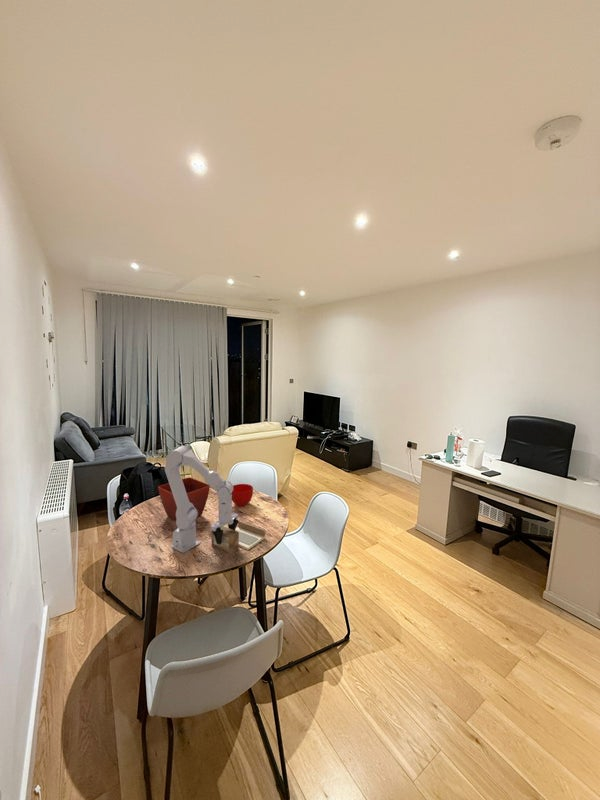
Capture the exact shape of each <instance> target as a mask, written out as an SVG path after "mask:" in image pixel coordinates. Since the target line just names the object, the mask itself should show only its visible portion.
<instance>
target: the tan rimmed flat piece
mask: <svg viewBox="0 0 600 800" xmlns="http://www.w3.org/2000/svg"><path fill="white" fill-rule="evenodd" d="M238 521H239V523H238V524H237V527H236V529H235V531H237V532H239V548H243V549H245V550H247V551H249V550H251V549H252V548H254V546H256V545H258V544H259V543H260V542H262V541H263V540H265V539H266V529H264V528H261V527H258V526H255V525H252V524H250V523H247V522H245V521H242V520H238Z"/></svg>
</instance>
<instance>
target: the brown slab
mask: <svg viewBox="0 0 600 800" xmlns="http://www.w3.org/2000/svg"><path fill="white" fill-rule="evenodd" d="M220 529H221V530H223V534H222V542H221V544H220V545H219V544H217V543H216V539H215V536H214V534H213V532H212V531H211V546H212V547H215V548H217V549H219V550H221V551H224V552H226V553H228V554H231V555H233V554H234V553H236V552H237V551H238V550H239V548H240V546H239V532H237V531H235V530H232V529H230V528H228V527H227V526H225V525H224V526H222V527H220Z"/></svg>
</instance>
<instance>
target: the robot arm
mask: <svg viewBox="0 0 600 800" xmlns="http://www.w3.org/2000/svg"><path fill="white" fill-rule="evenodd" d="M182 466H184V467H185V466H190V467H191V468H192V469H194V471H196V472H197V473H199V474H200V475H201V476H202V477H204V478H203V479H204V483H206V484H208V485H209V486H210V487H211V489H213V490H214V491H215V492H216V497H218V519H217V521H216V522H215V523H213V524H211V525H210V526H211V527H210V530H211V533H212V532H213V534H214V536H215V539H216V543H217V544H219V545H220V544H221V542H222V534H223V530H221V529H220V527H222V526H224V527H225V526H228V527H227V528H230V529H232V530H235V529H236V528H237V527H238V523H239V521H240V520H238V519H239V514H238V513H235V512H234V513H233V501H232V494H231V493H232V491H233V486H234V485H233V483H232V482H231V481H229V480H226V479H224V478H223V477H221V476H220V475H219V472H218V471H215V470H210V469H209V468H208V467H207V466H206V465H205V464H204V463H203V462H202V461H201V460H200V459H199V458H198V457H197V456H196V454H195V453H194V452H193V451H192V450H191V449H190V448H189V447H188V446H186V445H180V446H178V447H177V448H176V449H173V450H171V451H170V452H169V453H167V455H166V457H165V465H164V472H165V474H166V475H165V476H166V478H167V480H168V483H169V484H170V487H171V490H172V494H173V497H174V500H175V503H176V506H177V511H176V518H177V519H176V521H175V523H176V526H177V528H176V529H175V530H173V532H172V545H171V548H172V549H174V550H175V551H178V552H180V553H182V554H184V553H186V552H188V551H189V550H191V549H192V548H194V547H196V546H198V545H199V544H201V541H198V540H197V522H196V519H197V518H198V517H197V516H198V512H197V510H196V509H195V508H194V506H193V504H192V503H190V502H189V499H188V496H187V493H186V490H185V487H184V484H183V481H182V479H183V478H182V475H181V472H180V468H181V467H182Z"/></svg>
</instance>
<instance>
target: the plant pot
mask: <svg viewBox="0 0 600 800" xmlns="http://www.w3.org/2000/svg"><path fill="white" fill-rule="evenodd" d="M182 481H183V484H184V487H185V490H186V493H187V496H188V499H189V502H190V503H192V504H193V506H194V508H195V509H196V510H197V512H198V516H197V518H199V517H201V516H202V515H203V513H204V510H205V508H206V505H207V502H208V497H209V494H210V487H211V486H209V485H208V484H207V483H206V482H203V481H201V480H198V479H196V478H193V477H189V476H188V477H185V478H182ZM157 489H158V494H159V498H160V501H161V504H162V507H163V509H164V512H165V514H166V516H167V518H169V519H170V520H172V521H174V522H176V519H177V518H176V511H177V506H176V503H175V500H174V497H173V494H172V490H171V487H170V484H169V482H168V483H165V484H161V485H159V486H157Z"/></svg>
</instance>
